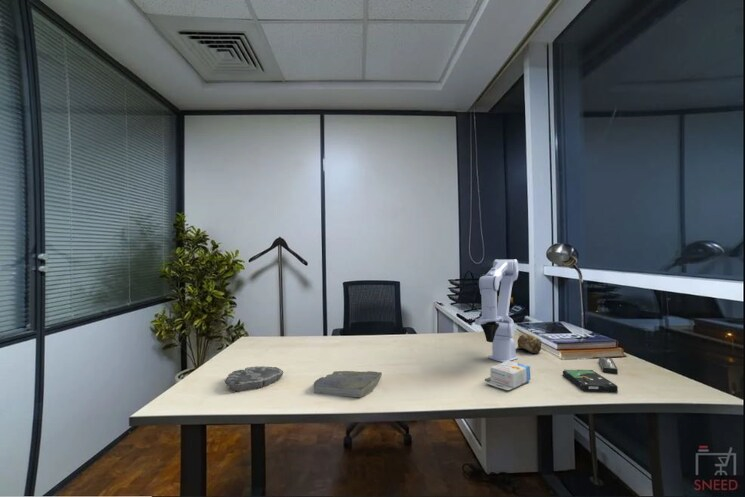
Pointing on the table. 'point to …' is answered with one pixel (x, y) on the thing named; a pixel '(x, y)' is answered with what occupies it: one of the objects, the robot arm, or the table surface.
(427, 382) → the table surface
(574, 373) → the disk drive
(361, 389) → the fossil
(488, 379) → the mat
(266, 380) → the brain slice
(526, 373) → the ink box
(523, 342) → the seashell
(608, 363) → the multiport hub
